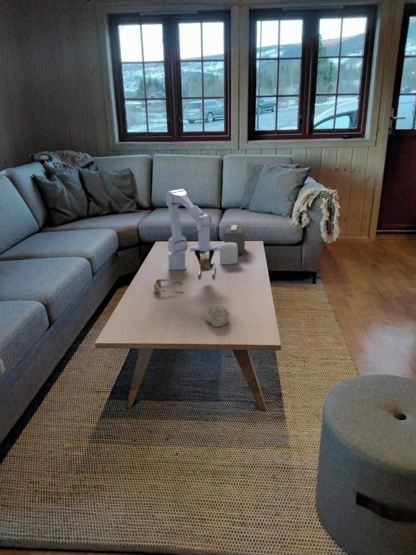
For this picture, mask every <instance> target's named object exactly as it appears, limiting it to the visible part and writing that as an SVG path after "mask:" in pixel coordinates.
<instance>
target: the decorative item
mask: <svg viewBox="0 0 416 555" xmlns="http://www.w3.org/2000/svg"><path fill="white" fill-rule="evenodd" d="M229 317H230V313H229V310H228V309H227V308H226V307H225V306H224V305H222V304H212V305H210V306H209V307H208V309H207V311H206V313H205V315H204V319H205V321H206V322H208V323H210V324H211V326H213V327H215V328H219V327H222V326H224V325H225V324H227V322H228V321H229Z"/></svg>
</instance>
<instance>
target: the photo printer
mask: <svg viewBox="0 0 416 555" xmlns="http://www.w3.org/2000/svg"><path fill="white" fill-rule="evenodd" d="M238 256H239V255H238V247H237V244H236V243H231V242H229V243H225V242H224V243H221V244H219V264H220V265H233V264H234V265H235V264H238V262H239V261H238V259H239V258H238Z"/></svg>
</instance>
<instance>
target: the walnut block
mask: <svg viewBox="0 0 416 555" xmlns="http://www.w3.org/2000/svg"><path fill="white" fill-rule="evenodd" d="M199 266H200V271H201V272H209V271H210V270H211V269H210V265H209V253H208V254H205V253H203V254H200V265H199Z"/></svg>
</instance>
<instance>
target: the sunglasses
mask: <svg viewBox="0 0 416 555" xmlns="http://www.w3.org/2000/svg"><path fill="white" fill-rule="evenodd" d="M165 281H166V282H167V281H169V282H174V283H178V284H180V285H184V283H182V282H180V281H178V280H175V279H165V278H162V279H161V278H156V279H155V280H154V282H153V283H154V285H153V289H154V291H156V292H155V293H156V294H157V295H158V296H159V295H160V296H161V295H162V292H163V293H176V294H177V293H179V294H185V292H184V291H177V290H168V289H162V288H160V287H161V286H162V282H165Z"/></svg>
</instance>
